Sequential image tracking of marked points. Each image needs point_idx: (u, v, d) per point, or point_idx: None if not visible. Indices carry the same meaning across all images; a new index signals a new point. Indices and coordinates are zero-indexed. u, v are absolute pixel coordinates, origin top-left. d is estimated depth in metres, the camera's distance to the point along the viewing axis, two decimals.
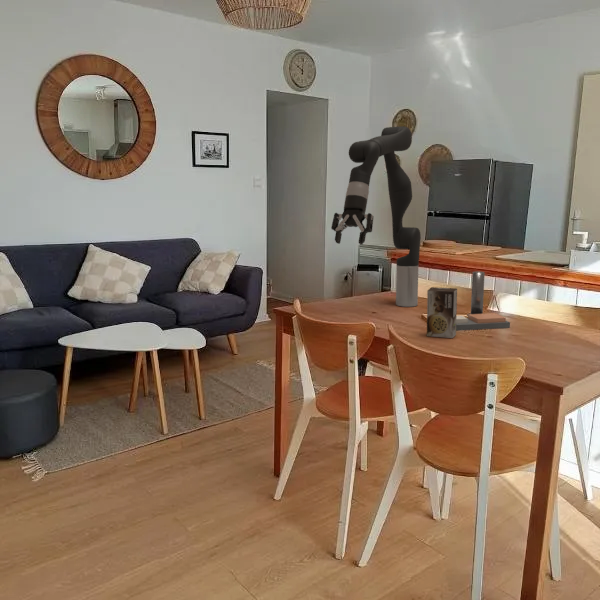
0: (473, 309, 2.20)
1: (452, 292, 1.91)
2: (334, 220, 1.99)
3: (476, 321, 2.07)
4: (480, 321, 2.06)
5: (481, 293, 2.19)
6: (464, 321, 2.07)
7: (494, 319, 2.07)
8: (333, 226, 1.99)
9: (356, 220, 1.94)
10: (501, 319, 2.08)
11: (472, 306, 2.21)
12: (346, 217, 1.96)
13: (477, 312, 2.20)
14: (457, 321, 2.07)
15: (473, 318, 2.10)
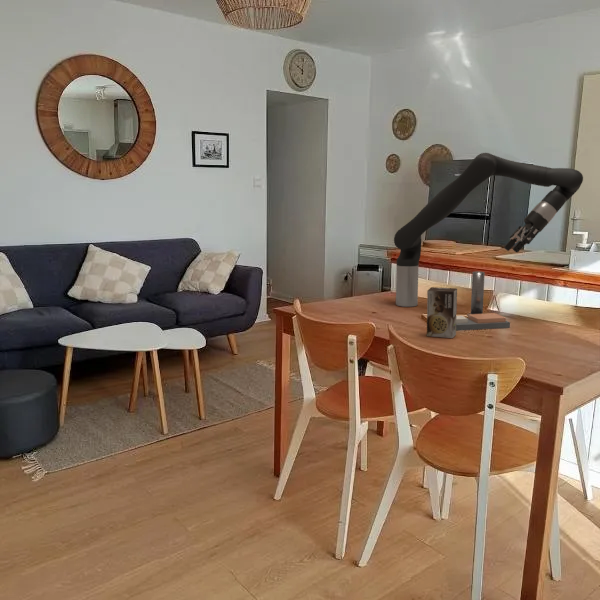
0: (473, 309, 2.20)
1: (452, 292, 1.91)
2: None
3: (476, 321, 2.07)
4: (480, 321, 2.06)
5: (481, 293, 2.19)
6: (464, 321, 2.07)
7: (494, 319, 2.07)
8: None
9: None
10: (501, 319, 2.08)
11: (472, 306, 2.21)
12: None
13: (477, 312, 2.20)
14: (457, 321, 2.07)
15: (473, 318, 2.10)
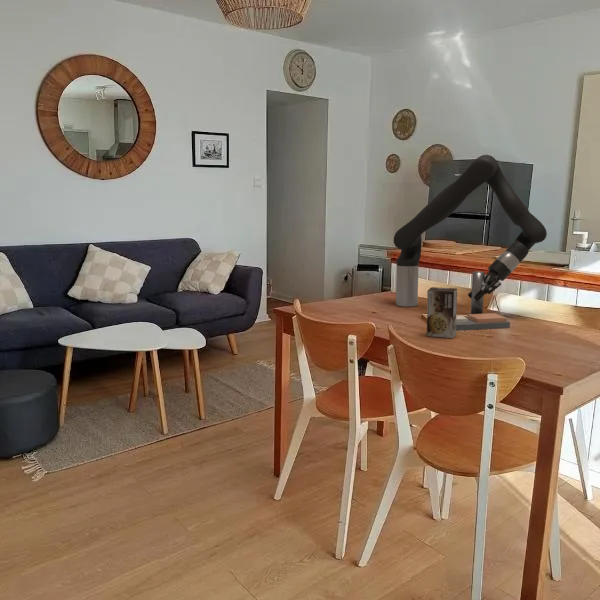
0: (473, 309, 2.20)
1: (452, 292, 1.91)
2: None
3: (476, 321, 2.07)
4: (480, 321, 2.06)
5: None
6: (464, 321, 2.07)
7: (494, 319, 2.07)
8: None
9: None
10: (501, 319, 2.08)
11: (472, 306, 2.21)
12: None
13: (477, 312, 2.20)
14: (457, 321, 2.07)
15: (473, 318, 2.10)
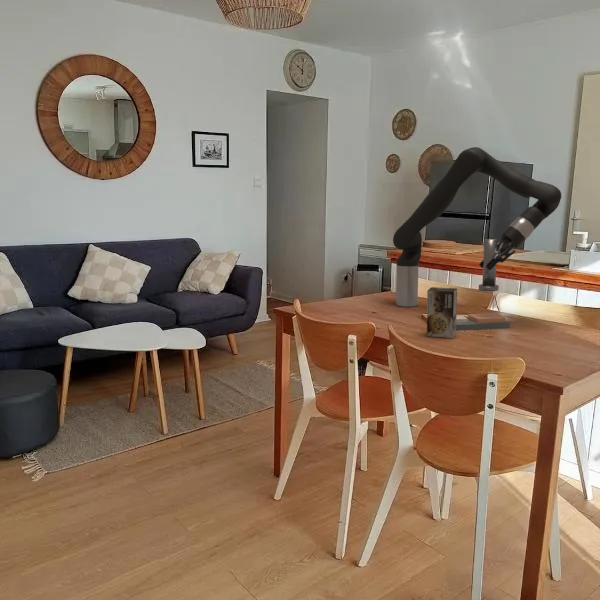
0: (485, 279, 2.07)
1: (452, 292, 1.91)
2: None
3: (476, 321, 2.07)
4: (480, 321, 2.06)
5: None
6: (464, 321, 2.07)
7: (494, 319, 2.07)
8: None
9: None
10: (501, 319, 2.08)
11: (484, 276, 2.07)
12: None
13: (489, 282, 2.06)
14: (457, 321, 2.07)
15: (473, 318, 2.10)
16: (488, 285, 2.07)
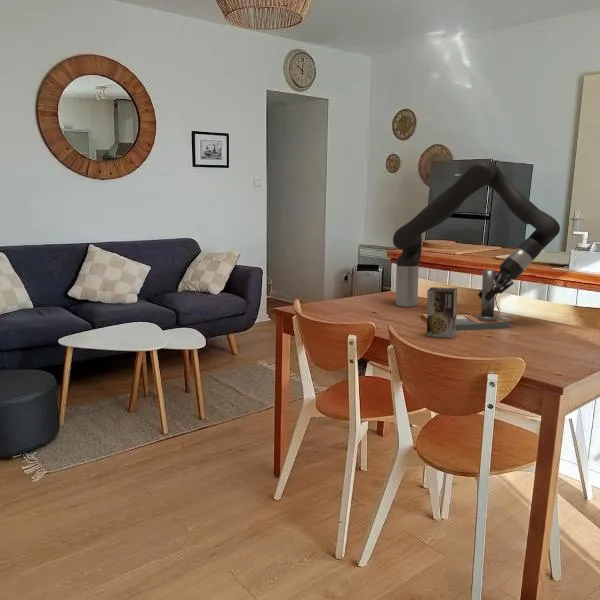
0: (484, 309, 2.09)
1: (452, 292, 1.91)
2: None
3: None
4: None
5: None
6: (464, 321, 2.07)
7: None
8: None
9: None
10: None
11: (483, 306, 2.09)
12: None
13: (488, 313, 2.09)
14: (457, 321, 2.07)
15: None
16: (487, 315, 2.09)
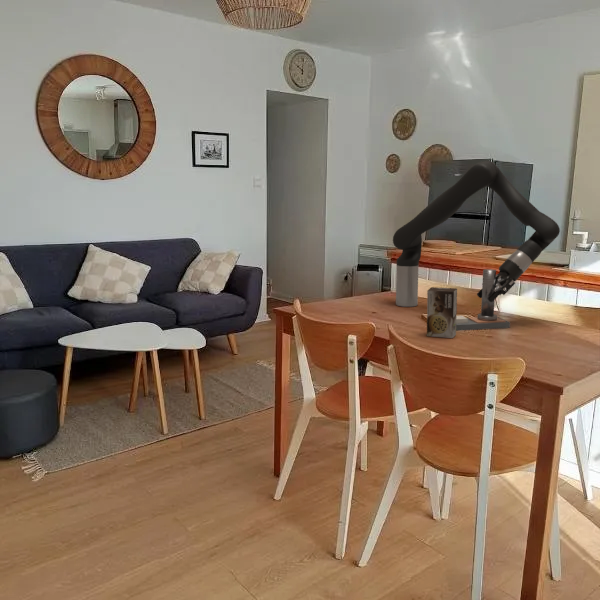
0: (484, 309, 2.09)
1: (452, 292, 1.91)
2: None
3: None
4: None
5: None
6: (464, 321, 2.07)
7: (494, 322, 2.07)
8: None
9: None
10: None
11: (483, 306, 2.09)
12: None
13: (488, 312, 2.09)
14: (457, 321, 2.07)
15: (473, 321, 2.10)
16: (487, 315, 2.09)
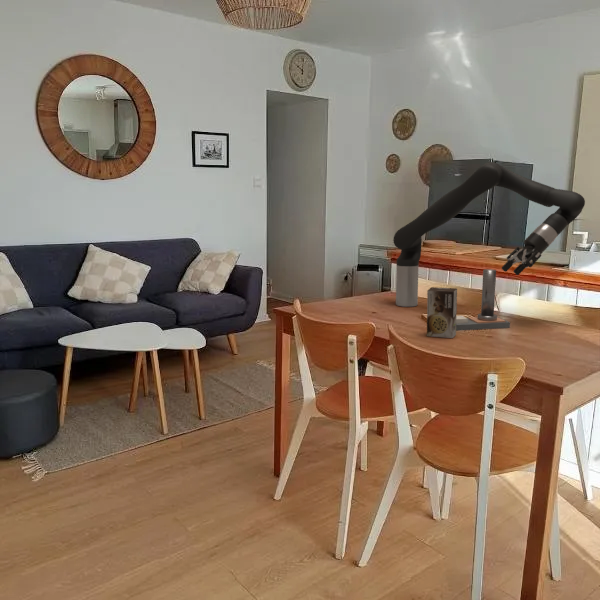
0: (484, 309, 2.09)
1: (452, 292, 1.91)
2: None
3: None
4: None
5: (492, 292, 2.07)
6: (464, 321, 2.07)
7: (494, 322, 2.07)
8: None
9: None
10: None
11: (483, 306, 2.09)
12: None
13: (488, 312, 2.09)
14: (457, 321, 2.07)
15: (473, 321, 2.10)
16: (487, 315, 2.09)
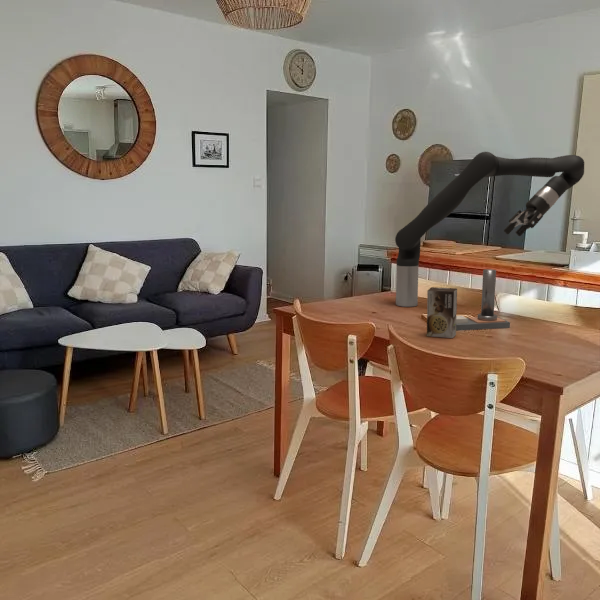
0: (484, 309, 2.09)
1: (452, 292, 1.91)
2: None
3: None
4: None
5: (492, 292, 2.07)
6: (464, 321, 2.07)
7: (494, 322, 2.07)
8: None
9: None
10: None
11: (483, 306, 2.09)
12: None
13: (488, 312, 2.09)
14: (457, 321, 2.07)
15: (473, 321, 2.10)
16: (487, 315, 2.09)
